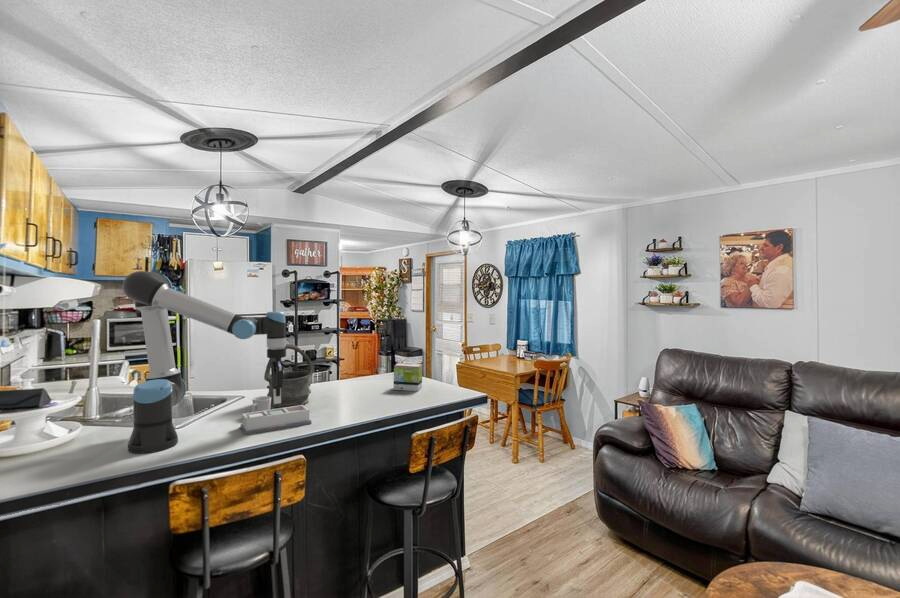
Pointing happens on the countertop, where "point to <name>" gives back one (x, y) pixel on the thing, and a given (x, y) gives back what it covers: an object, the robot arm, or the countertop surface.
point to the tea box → (408, 376)
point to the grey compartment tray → (275, 420)
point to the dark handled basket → (292, 383)
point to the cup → (261, 403)
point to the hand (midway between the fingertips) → (277, 403)
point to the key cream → (255, 415)
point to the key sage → (276, 412)
